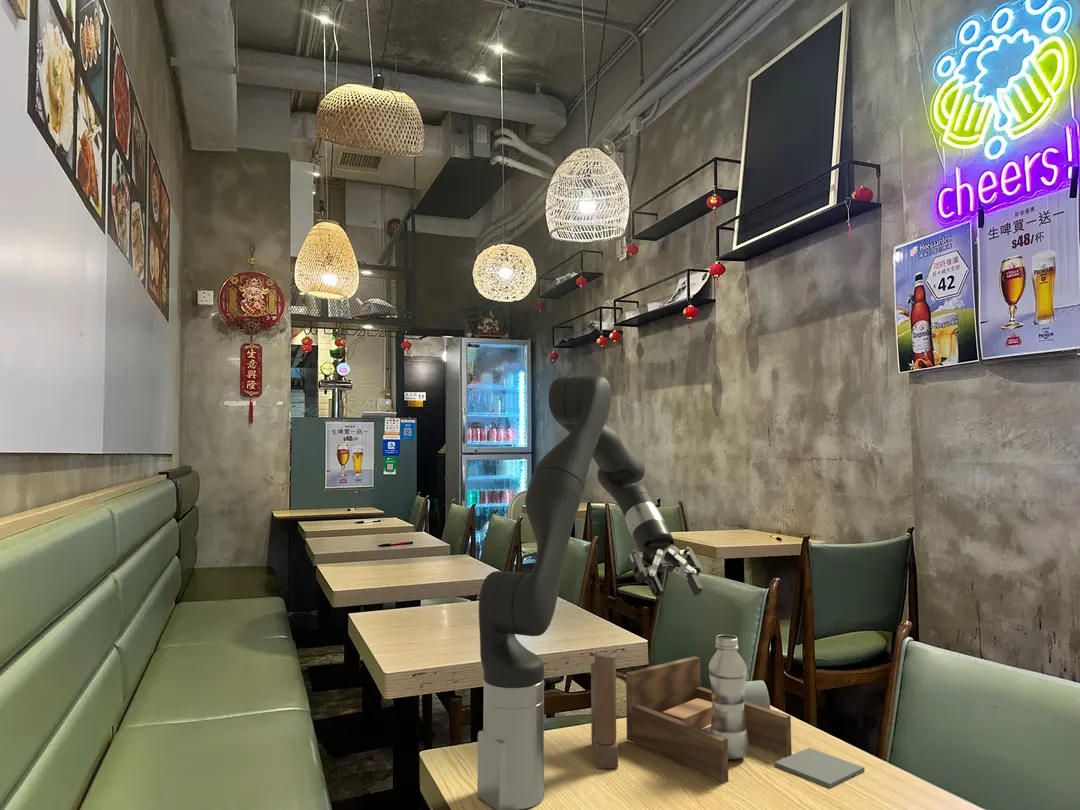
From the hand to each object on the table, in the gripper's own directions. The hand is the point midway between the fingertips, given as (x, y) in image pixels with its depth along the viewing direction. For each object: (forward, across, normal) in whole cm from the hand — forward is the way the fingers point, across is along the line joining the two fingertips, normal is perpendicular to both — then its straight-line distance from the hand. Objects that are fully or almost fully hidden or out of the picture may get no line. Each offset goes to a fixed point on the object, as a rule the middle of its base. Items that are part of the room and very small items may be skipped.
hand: (680, 594), depth 137 cm
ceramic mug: (+20, +14, +16) cm, 29 cm away
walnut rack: (+25, -1, +11) cm, 27 cm away
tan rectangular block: (+22, -2, +14) cm, 26 cm away
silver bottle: (+28, 0, +8) cm, 29 cm away
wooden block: (+22, -19, +14) cm, 32 cm away
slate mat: (+34, +11, +1) cm, 36 cm away
